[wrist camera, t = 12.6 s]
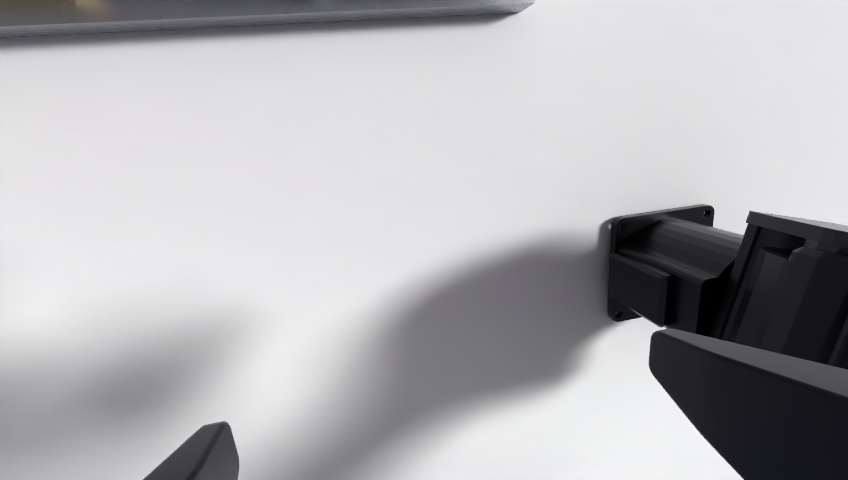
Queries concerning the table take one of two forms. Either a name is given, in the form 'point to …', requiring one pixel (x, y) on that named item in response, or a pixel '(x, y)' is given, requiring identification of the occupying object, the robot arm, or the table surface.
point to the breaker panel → (218, 13)
